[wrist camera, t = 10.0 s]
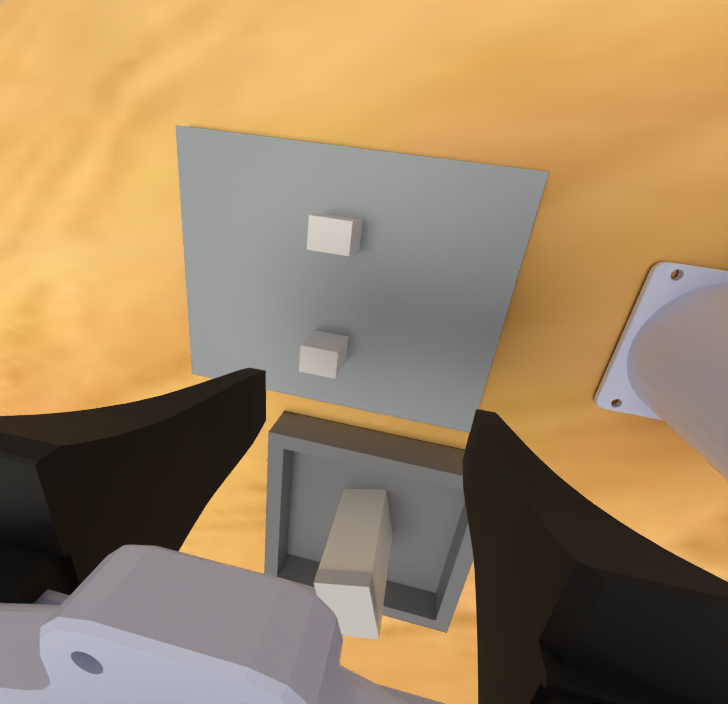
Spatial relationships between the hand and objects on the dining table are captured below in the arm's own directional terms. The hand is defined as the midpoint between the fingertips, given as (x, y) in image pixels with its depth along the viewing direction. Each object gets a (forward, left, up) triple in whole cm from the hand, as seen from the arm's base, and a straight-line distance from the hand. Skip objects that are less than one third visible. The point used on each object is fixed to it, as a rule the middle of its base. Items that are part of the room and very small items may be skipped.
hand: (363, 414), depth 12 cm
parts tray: (-1, +14, -10) cm, 17 cm away
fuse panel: (+3, -2, -10) cm, 10 cm away
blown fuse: (0, +14, -9) cm, 16 cm away
